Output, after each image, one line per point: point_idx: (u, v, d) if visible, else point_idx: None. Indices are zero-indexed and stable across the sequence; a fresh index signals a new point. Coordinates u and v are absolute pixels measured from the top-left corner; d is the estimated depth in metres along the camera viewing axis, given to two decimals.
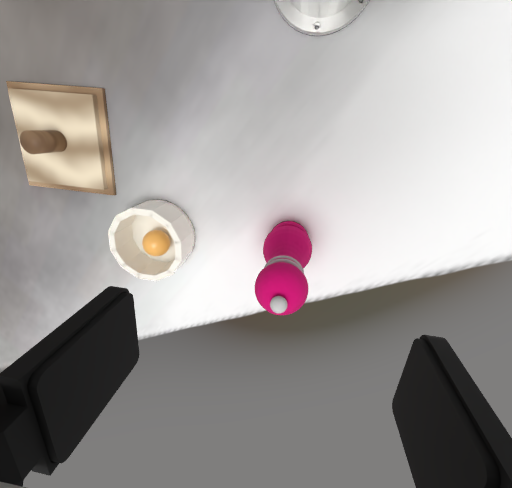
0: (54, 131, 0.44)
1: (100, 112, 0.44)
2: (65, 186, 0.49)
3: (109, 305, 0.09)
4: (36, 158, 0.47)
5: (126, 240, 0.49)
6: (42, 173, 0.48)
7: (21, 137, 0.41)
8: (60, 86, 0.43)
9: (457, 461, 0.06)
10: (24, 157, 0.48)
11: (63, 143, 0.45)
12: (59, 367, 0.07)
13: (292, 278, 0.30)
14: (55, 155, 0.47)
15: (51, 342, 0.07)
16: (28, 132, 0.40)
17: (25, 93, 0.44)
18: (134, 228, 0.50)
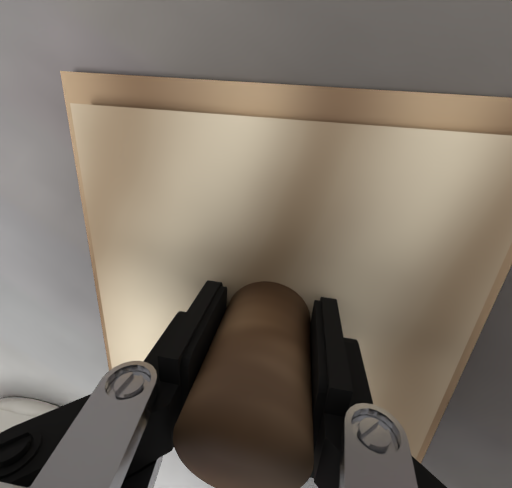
0: None
1: None
2: None
3: (215, 297, 0.09)
4: (188, 193, 0.10)
5: None
6: (124, 202, 0.10)
7: (271, 420, 0.06)
8: (463, 359, 0.11)
9: (313, 385, 0.07)
10: (186, 121, 0.09)
11: None
12: (197, 350, 0.08)
13: None
14: None
15: (187, 328, 0.08)
16: (300, 470, 0.06)
17: (490, 237, 0.09)
18: None
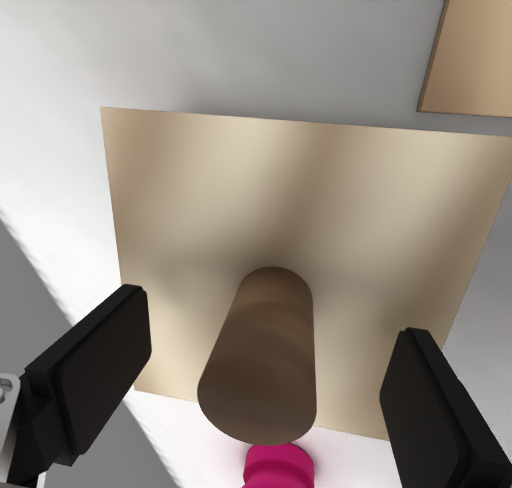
0: None
1: None
2: None
3: (125, 302, 0.09)
4: (204, 187, 0.11)
5: None
6: (146, 194, 0.11)
7: (281, 373, 0.07)
8: None
9: (433, 444, 0.06)
10: (203, 122, 0.10)
11: None
12: (81, 361, 0.07)
13: None
14: (222, 274, 0.12)
15: (73, 337, 0.07)
16: (305, 417, 0.08)
17: (472, 224, 0.10)
18: None
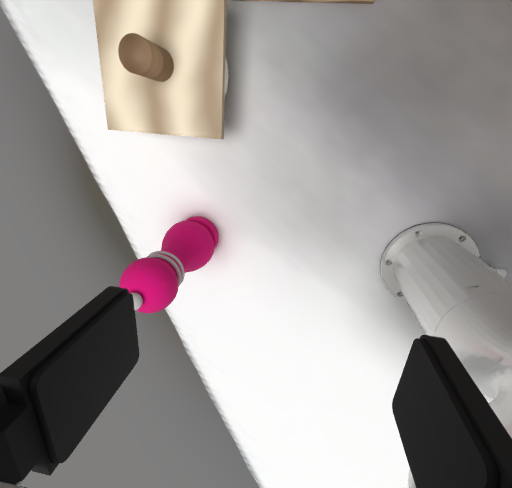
0: (169, 69, 0.30)
1: None
2: None
3: (109, 305, 0.09)
4: (129, 12, 0.30)
5: None
6: (108, 18, 0.30)
7: (139, 38, 0.26)
8: None
9: (457, 461, 0.06)
10: None
11: (155, 80, 0.31)
12: (59, 367, 0.07)
13: (164, 304, 0.30)
14: None
15: (51, 342, 0.07)
16: (148, 56, 0.26)
17: (218, 19, 0.29)
18: None
